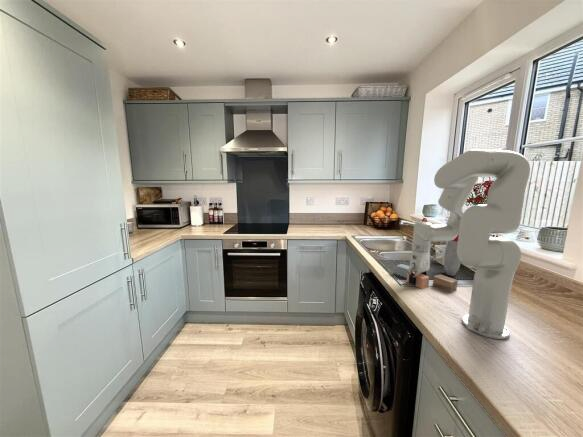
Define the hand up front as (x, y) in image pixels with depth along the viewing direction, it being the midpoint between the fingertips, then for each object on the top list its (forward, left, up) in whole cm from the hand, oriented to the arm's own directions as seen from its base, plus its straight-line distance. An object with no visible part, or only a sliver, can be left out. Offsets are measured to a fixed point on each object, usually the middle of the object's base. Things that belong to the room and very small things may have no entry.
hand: (417, 281), depth 113 cm
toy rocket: (+28, -3, -1) cm, 28 cm away
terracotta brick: (0, 0, -1) cm, 1 cm away
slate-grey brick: (+5, +9, -1) cm, 10 cm away
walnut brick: (+7, -9, -1) cm, 11 cm away
